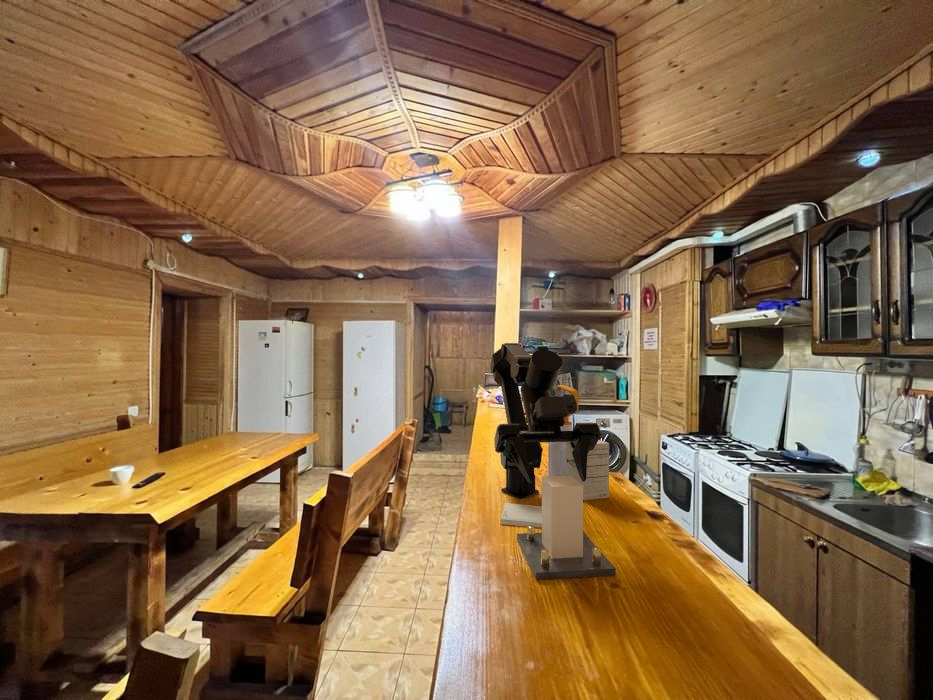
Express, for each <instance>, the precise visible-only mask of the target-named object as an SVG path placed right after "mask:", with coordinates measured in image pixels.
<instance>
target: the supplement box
mask: <svg viewBox="0 0 933 700" xmlns="http://www.w3.org/2000/svg"><path fill="white" fill-rule="evenodd" d="M573 450H574V449H573V448H572V447H571V444H570V442H566V476H572V477H573V478H574V479H575V480H577V481H578V482H579V483H580V484H581V485H583V501H588V500H589V501H591V500H599V499H600V500H601V499H608V498H610V443H609V442H607V441H603V440H602V439H599V440H598V442H597V444H596V446H595V447H594V449H593V450H590V451H589V453H588V455H587V473H586V480H585V482H582V480H581V478H580V476H579V473H578V470H577V467H576V464H575V461H574V458H573V455H572V452H573Z"/></svg>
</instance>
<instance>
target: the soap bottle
mask: <svg viewBox="0 0 933 700" xmlns="http://www.w3.org/2000/svg"><path fill="white" fill-rule="evenodd" d="M556 387H557V388H558V389H562V390H564V391H565V392H568V393H570V395H574V397H575V399H576V402H577V411H576V412H575V413H577V412H578V410H579V392H578V390H577V389H576V388H574V387H570V386H568V385H565V384H557V386H556ZM571 416H572V414H569V415H568V416H566V417H564V421H565V424H564V426H561V427H560V428H561V431H573V424H572V423H573V422H572V421H569V420H570V419H569V418H570V417H571ZM547 476H566V442H548V443H547Z"/></svg>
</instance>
